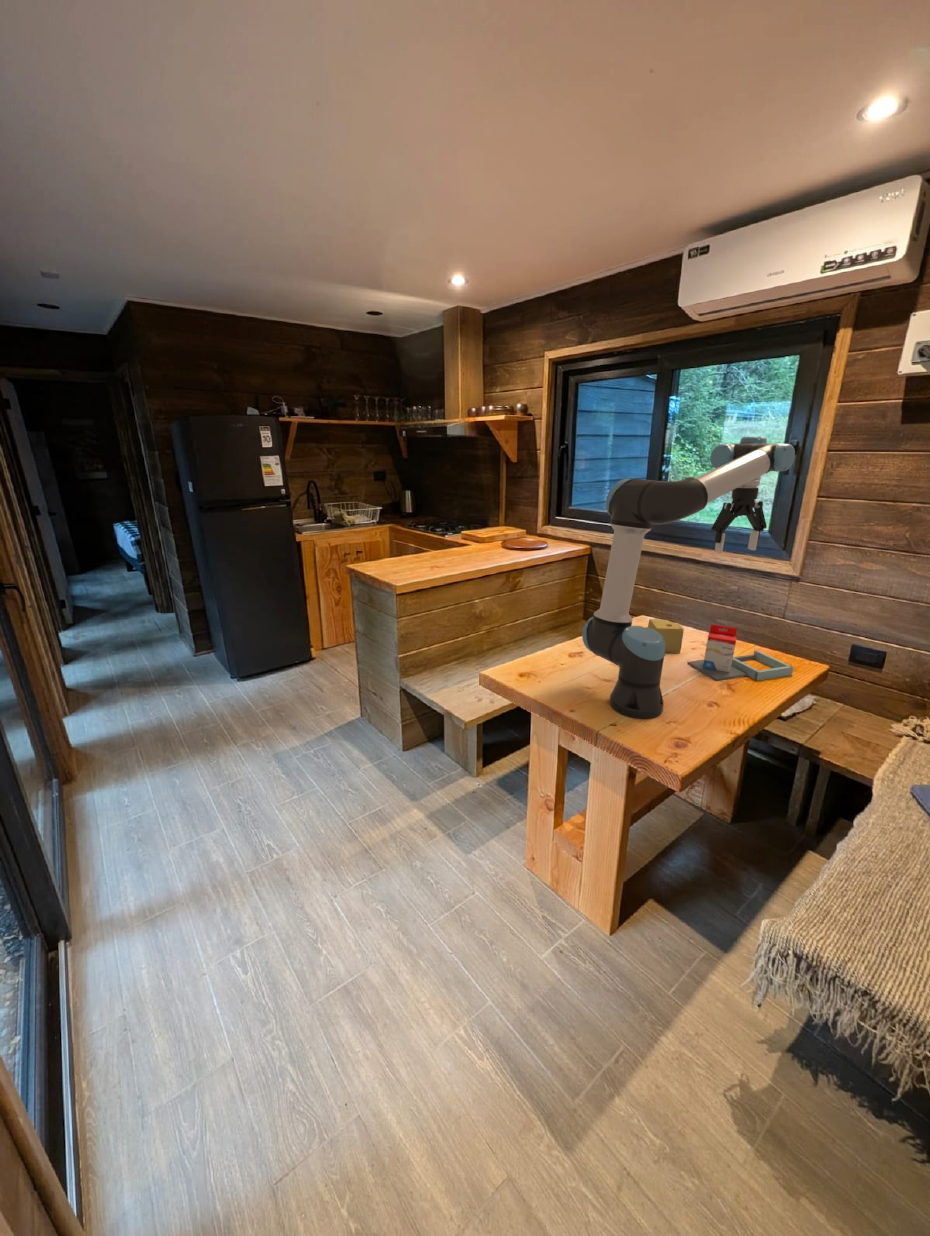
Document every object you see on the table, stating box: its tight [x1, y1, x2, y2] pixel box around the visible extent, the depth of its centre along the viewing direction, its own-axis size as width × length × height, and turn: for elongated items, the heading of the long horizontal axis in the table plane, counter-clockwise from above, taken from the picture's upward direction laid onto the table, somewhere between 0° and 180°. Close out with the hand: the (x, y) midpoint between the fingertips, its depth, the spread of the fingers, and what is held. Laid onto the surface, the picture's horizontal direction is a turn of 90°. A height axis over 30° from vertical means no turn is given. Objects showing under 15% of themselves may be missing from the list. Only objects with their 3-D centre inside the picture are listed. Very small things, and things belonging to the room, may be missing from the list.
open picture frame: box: [731, 649, 794, 682], centre depth 173 cm, size 14×15×3 cm
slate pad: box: [687, 659, 747, 682], centre depth 173 cm, size 12×14×1 cm
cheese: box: [647, 618, 685, 654], centre depth 190 cm, size 10×11×10 cm
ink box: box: [703, 624, 738, 672], centre depth 170 cm, size 8×5×15 cm, turn 62°
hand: (735, 551), depth 170 cm, fingers open, 13 cm apart
